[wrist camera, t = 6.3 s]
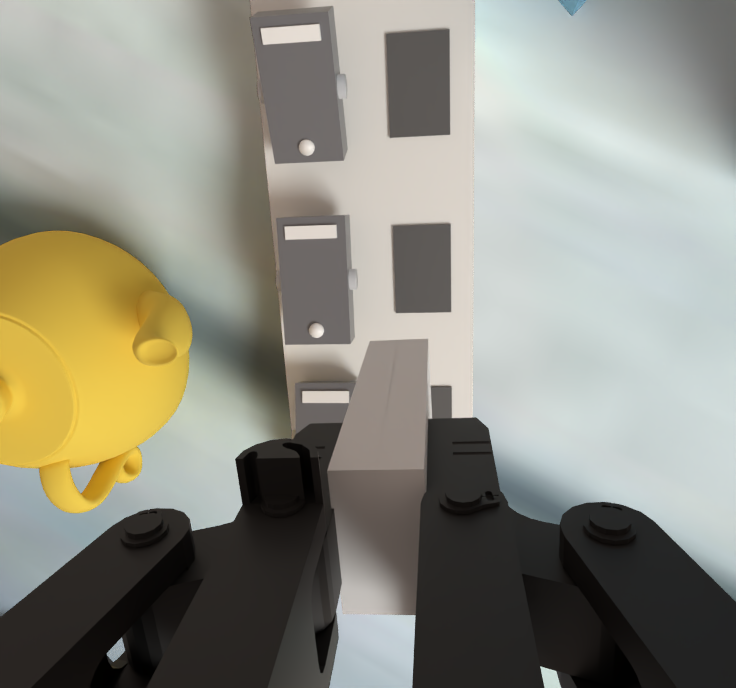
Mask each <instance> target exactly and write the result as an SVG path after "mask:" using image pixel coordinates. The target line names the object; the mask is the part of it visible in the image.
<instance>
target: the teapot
mask: <svg viewBox="0 0 736 688" xmlns="http://www.w3.org/2000/svg"><path fill="white" fill-rule="evenodd" d="M191 341H192V326H191V322H190V319H189V316H188V314H187V312H186V310H185V308H184V307H183V305H182V304H181V303H180V302H179V301H178V300H177V299H175V298H174V297H172V296H170V295H169V294H168V292H167V291H166V289H165V288H164V286H163V285H162V284H161V283H160V281H159V280H158V279H157V278H156V277H155V275H154V274H153V273H152V272H151V271H150V270H149V269H148V268H146V267H145V266H144V265H143V264H142V263H141V262H140V261H138V260H137V259H136V258H135V257H133V256H132V255H131V254H129V253H128V252H126V251H124V250H122V249H121V248H119V247H117V246H116V245H113V244H111V243H109V242H107V241H104V240H102V239H99V238H96V237H93V236H90V235H86V234H83V233H77V232H71V231H45V232H37V233H34V234H30V235H26V236H23V237H19V238H16V239H13V240H11V241H9V242H7V243H4V244H2V245H0V464H4V465H9V466H15V467H21V468H39V469H40V470H39V473H40V479H41V483H42V486H43V490H44V492H45V494H46V496H47V497H48V498H49V500H50V501H51V502H52V503H53V504H54V505H55V506H56V507H57V508H59V509H61V510H62V511H65V512H69V513H82V512H87V511H90V510H92V509H94V508H96V507H97V506H98V505H100V504H101V503H102V502H103V501H104V500H105V498H106V497H107V496H108V494H109V493H110V491H111V489H112V488H113V486H114V484H115V482H118V483H128V482H130V481H132V480H134V479H135V478H136V477H137V476H138V475H139V474H140V472H141V469H142V455H141V452H140V449H139V448H138V447H137V446H138V445H140V444H141V443H143V442H145V441H146V440H147V439H149V438H150V437H151V436H153V435H154V434H155V433H156V432H157V431H158V430H160V429H161V428H162V427H163V426H164V425H165V424H166V423H167V422H168V421H169V419H170V418H171V416H172V415H173V414H174V412H175V411H176V409H177V407H178V405H179V403H180V402H181V400H182V397H183V394H184V391H185V388H186V383H187V378H188V372H189V347H190V345H191ZM99 462H100V463H99ZM95 463H99V465H98V467H97V469H96V470H95V472H94V474H93V476H92V478H91V480H90V481H89V483H88V485H87V487H86V488H85V490H84V491H83V492H82V493H80V492H79V491H78V489H77V488H76V486H75V484H74V482H73V479H72V476H71V472H70V468H73V467H81V466H86V465H91V464H95Z"/></svg>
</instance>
